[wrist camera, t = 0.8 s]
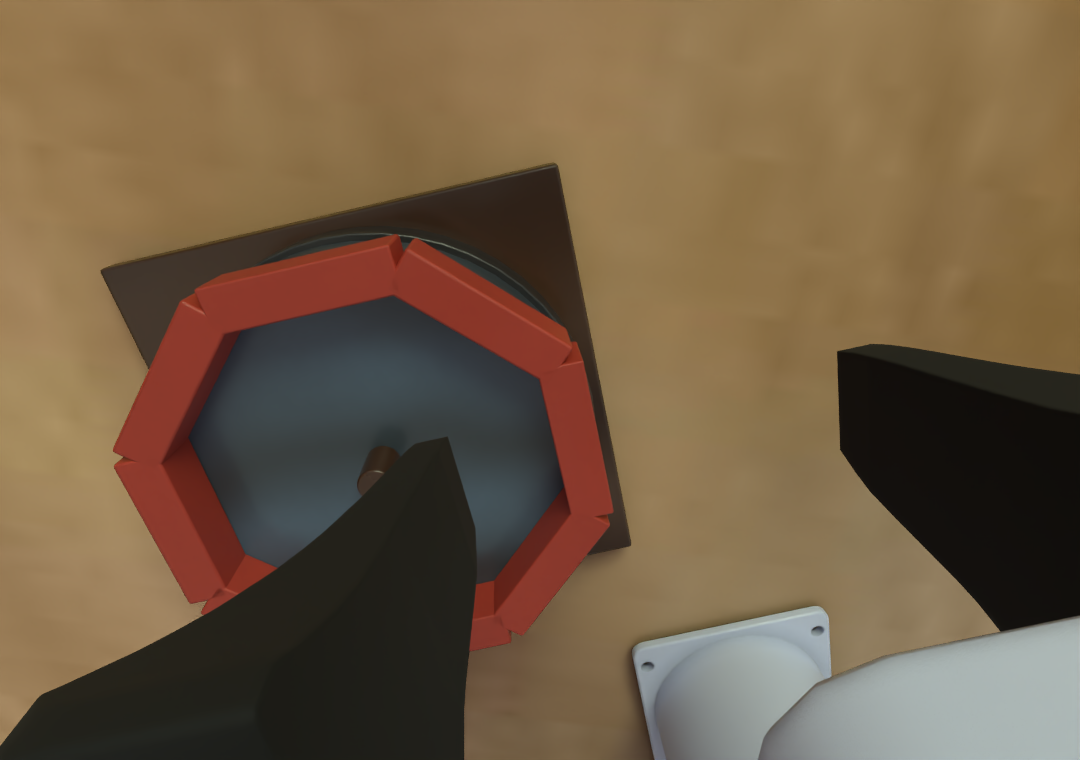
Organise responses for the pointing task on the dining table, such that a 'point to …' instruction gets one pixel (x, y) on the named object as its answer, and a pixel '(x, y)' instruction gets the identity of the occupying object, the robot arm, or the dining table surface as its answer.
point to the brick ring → (330, 283)
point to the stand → (383, 371)
